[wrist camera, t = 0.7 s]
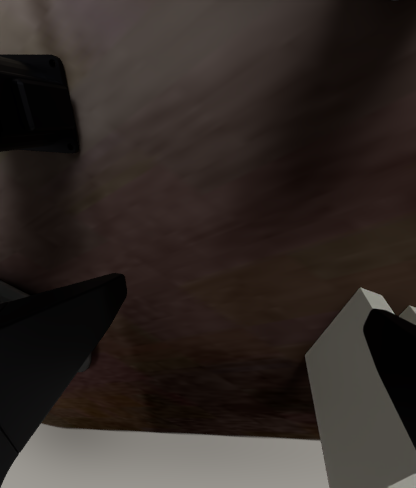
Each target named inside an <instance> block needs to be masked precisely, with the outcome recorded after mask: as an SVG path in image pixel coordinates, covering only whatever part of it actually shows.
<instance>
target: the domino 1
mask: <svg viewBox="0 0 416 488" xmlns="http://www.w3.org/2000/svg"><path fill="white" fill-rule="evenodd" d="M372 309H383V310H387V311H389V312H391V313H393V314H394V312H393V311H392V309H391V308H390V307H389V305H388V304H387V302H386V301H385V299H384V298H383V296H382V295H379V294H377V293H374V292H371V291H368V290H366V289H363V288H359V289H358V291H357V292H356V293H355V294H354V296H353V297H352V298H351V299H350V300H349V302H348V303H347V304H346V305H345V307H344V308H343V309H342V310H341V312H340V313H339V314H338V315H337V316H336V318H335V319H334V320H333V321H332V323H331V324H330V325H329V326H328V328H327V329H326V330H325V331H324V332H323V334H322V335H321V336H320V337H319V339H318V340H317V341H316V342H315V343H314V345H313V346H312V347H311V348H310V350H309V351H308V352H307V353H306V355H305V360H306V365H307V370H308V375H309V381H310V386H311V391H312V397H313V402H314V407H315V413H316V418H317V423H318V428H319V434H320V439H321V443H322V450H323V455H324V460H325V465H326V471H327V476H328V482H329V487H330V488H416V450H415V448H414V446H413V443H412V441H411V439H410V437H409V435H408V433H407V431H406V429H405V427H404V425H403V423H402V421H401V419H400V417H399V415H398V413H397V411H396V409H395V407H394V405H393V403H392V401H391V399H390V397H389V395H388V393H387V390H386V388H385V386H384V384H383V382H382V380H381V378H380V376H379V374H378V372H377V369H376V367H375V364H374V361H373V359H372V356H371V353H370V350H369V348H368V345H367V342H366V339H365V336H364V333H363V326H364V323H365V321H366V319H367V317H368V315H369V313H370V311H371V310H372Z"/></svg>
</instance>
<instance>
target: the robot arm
mask: <svg viewBox="0 0 416 488" xmlns="http://www.w3.org/2000/svg"><path fill="white" fill-rule="evenodd" d="M54 61H55V63H56V66H55V67H54V65H53V62H54ZM71 144H72V146H73V149H72V148H71ZM10 150H32V151H46V152H60V153H76V152H78V151H79V144H78V139H77V134H76V129H75V123H74V118H73V113H72V108H71V103H70V98H69V93H68V89H67V84H66V79H65V74H64V69H63V64H62V61H61V60H60V58H58V57H57V56H53V55H0V152H3V151H10ZM126 295H127V287H126V281H125V276H124V275H123V274H118V273H112V274H108V275H104V276H101V277H97V278H94V279H90V280H86V281H83V282H79V283H75V284H72V285H68V286H64V287H61V288H57V289H53V290H50V291H46V292H42V293H39V294H35V295H31V296H28V297H24V298H20V299H17V300H13V301H10V302H4V303H1V304H0V487H1V485H2V483H3V480H4V478H5V476H6V474H7V472H8V470H9V469H10V467H11V465H12V464H13V462H14V460H15V459H16V457H17V456H18V454H19V452H21V450H22V449H23V448H24V446H25V445H26V443H27V442H28V441H29V439H30V437H31V436H32V435H33V434H34V432H35V431H36V429H37V428H38V427H39V425H40V424H41V422H42V421H43V420H44V418H45V417H46V415H47V414H48V413H49V411H50V410H51V408H52V407H53V406H54V404H55V403H56V401H57V400H58V399H59V397H60V396H61V394H62V393H63V391H64V390H65V389H66V387H67V386H68V384H69V383H70V382H71V380H72V379H73V377H74V376H75V375H76V373H77V372H78V370H79V369H80V368H81V366H82V365H83V363H84V362H85V361H86V359H87V358H88V356H89V355H90V354H91V352H92V351H93V349H94V348H95V347H96V345H97V344H98V342H99V341H100V340H101V338H102V337H103V335H104V334H105V333H106V331H107V330H108V328H109V327H110V325H111V323H112V322H113V320H114V318H115V316H116V314H117V313H118V311H119V309H120V307H121V305H122V304H123V302H124V300H125V298H126ZM363 333H364V336H365V339H366V342H367V345H368V348H369V350H370V353H371V356H372V359H373V361H374V364H375V367H376V369H377V372H378V374H379V376H380V378H381V380H382V382H383V384H384V386H385V388H386V390H387V393H388V395H389V397H390V399H391V401H392V403H393V405H394V407H395V409H396V411H397V413H398V415H399V417H400V419H401V421H402V423H403V425H404V427H405V429H406V431H407V433H408V435H409V437H410V439H411V441H412V443H413V446H414V448H415V450H416V325H415V324H413V323H411V322H409V321H407V320H405V319H403V318H401V317H399V316H397V315H395V314H393V313H391V312H389V311H387V310H383V309H372V310H371V311H370V313H369V315H368V317H367V319H366V321H365V323H364V326H363Z"/></svg>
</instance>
